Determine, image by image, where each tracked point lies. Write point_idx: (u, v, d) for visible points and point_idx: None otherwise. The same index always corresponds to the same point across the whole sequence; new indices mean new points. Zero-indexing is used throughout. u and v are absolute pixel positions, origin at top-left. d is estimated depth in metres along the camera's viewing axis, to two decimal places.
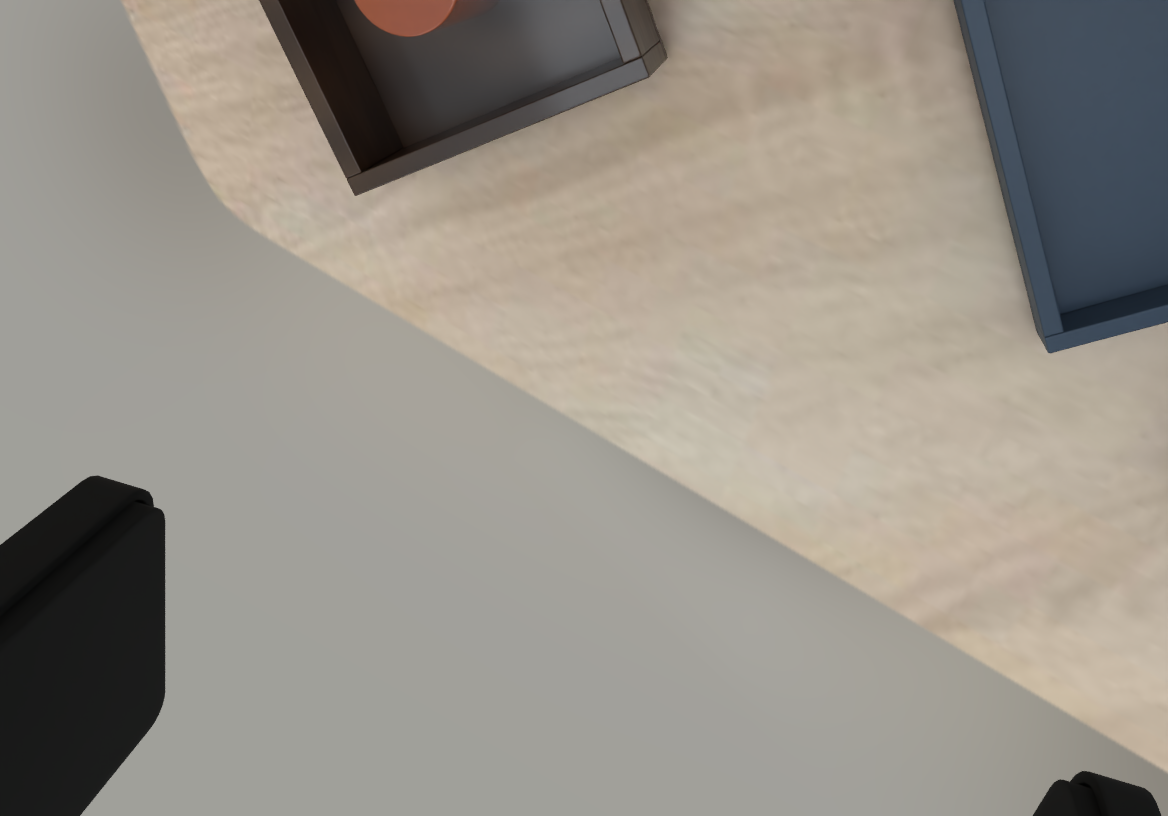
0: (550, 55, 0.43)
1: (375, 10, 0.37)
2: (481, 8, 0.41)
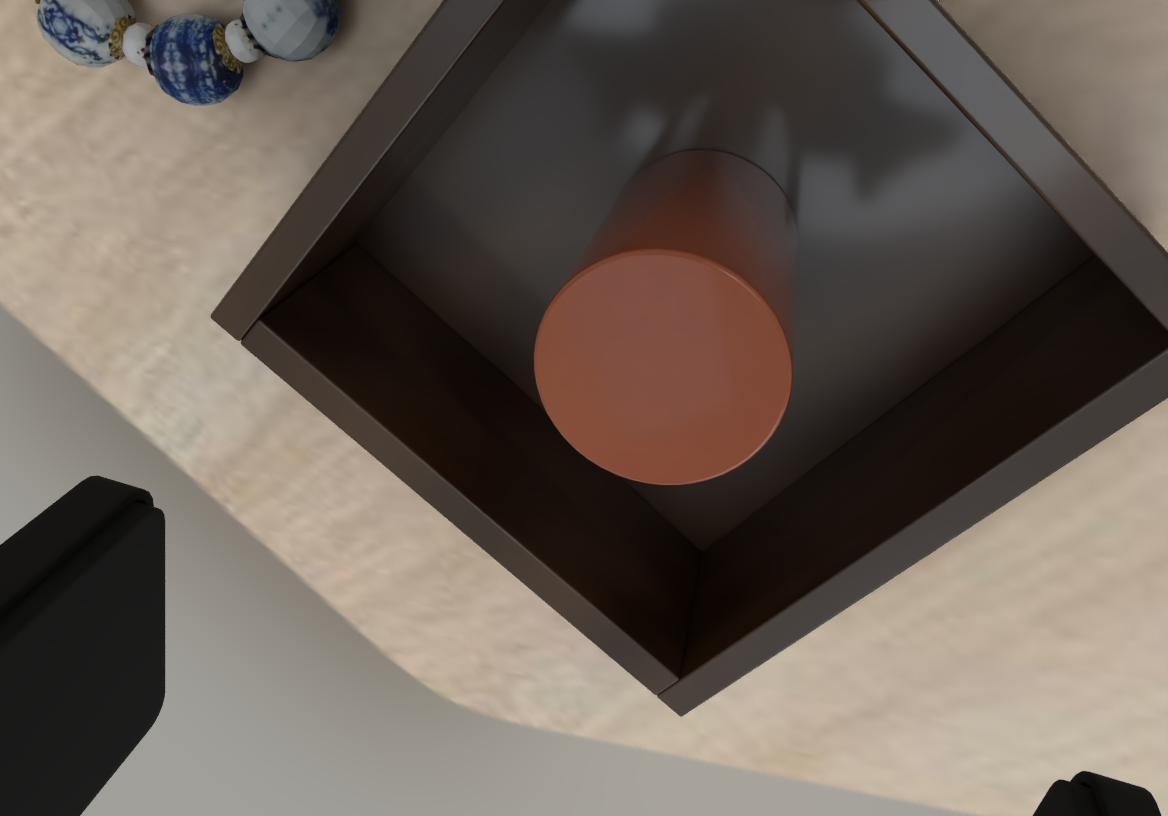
0: (918, 326, 0.23)
1: (629, 457, 0.18)
2: None
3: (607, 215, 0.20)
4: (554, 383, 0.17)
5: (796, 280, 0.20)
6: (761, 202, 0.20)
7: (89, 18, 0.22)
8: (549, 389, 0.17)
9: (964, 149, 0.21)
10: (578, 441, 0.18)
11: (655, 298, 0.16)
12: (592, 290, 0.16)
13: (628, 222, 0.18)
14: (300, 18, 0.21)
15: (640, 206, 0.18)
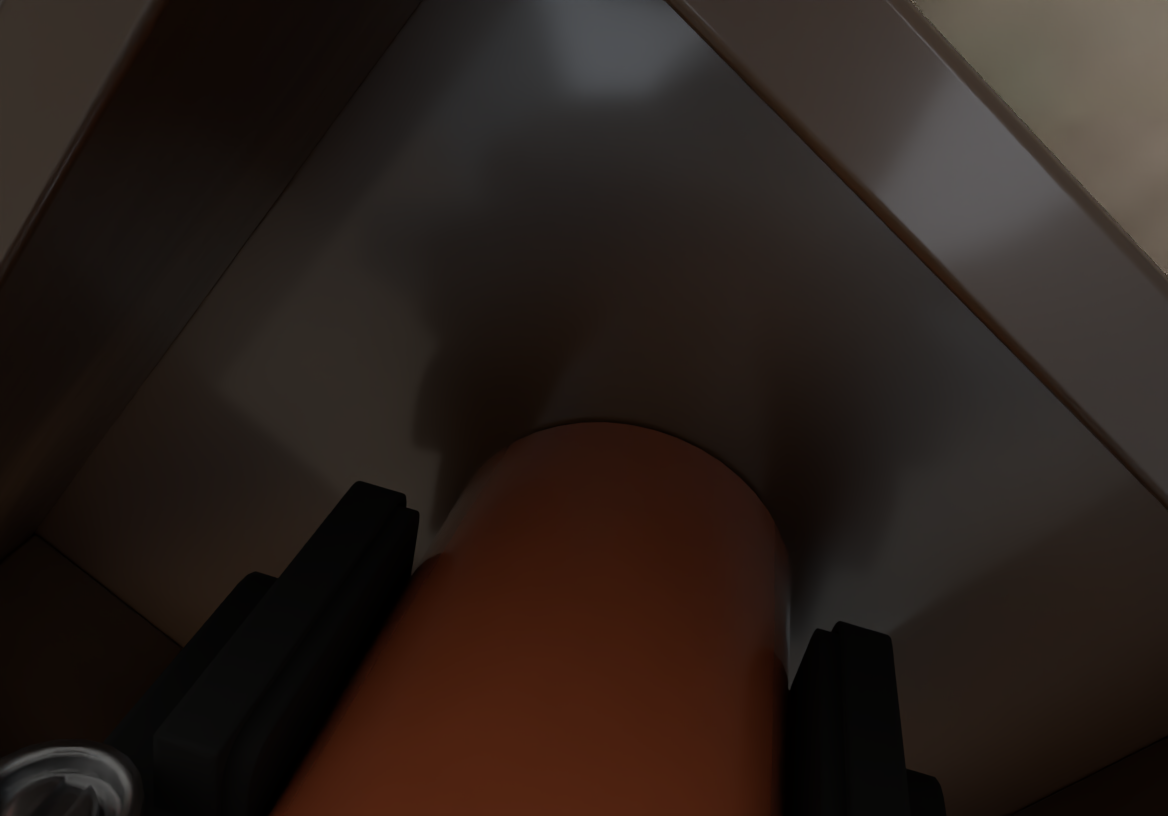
0: (1008, 725, 0.12)
1: None
2: None
3: (401, 599, 0.10)
4: None
5: (785, 750, 0.09)
6: (712, 584, 0.10)
7: None
8: None
9: None
10: None
11: None
12: None
13: (386, 734, 0.07)
14: None
15: (436, 650, 0.08)
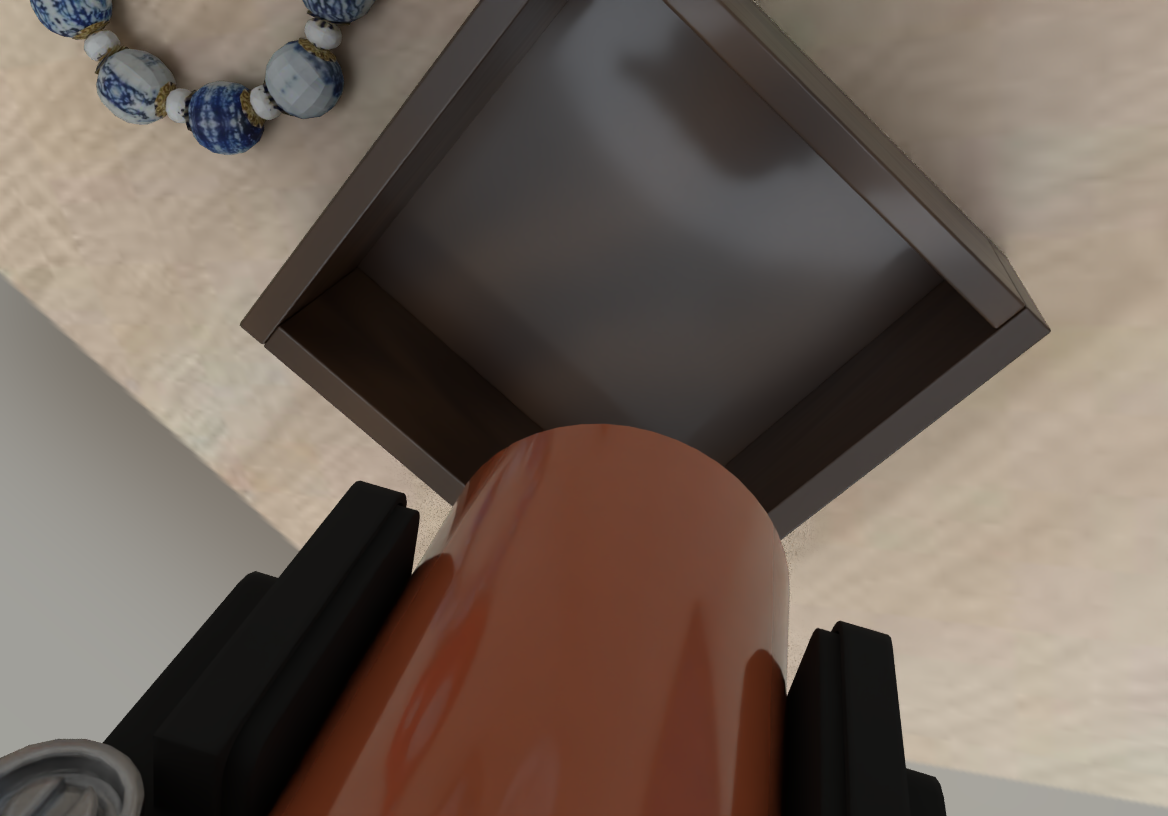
0: (821, 329, 0.28)
1: None
2: None
3: (400, 601, 0.10)
4: None
5: (783, 751, 0.10)
6: (710, 585, 0.10)
7: (140, 86, 0.27)
8: None
9: None
10: None
11: None
12: None
13: (384, 735, 0.08)
14: (312, 85, 0.26)
15: (434, 652, 0.08)
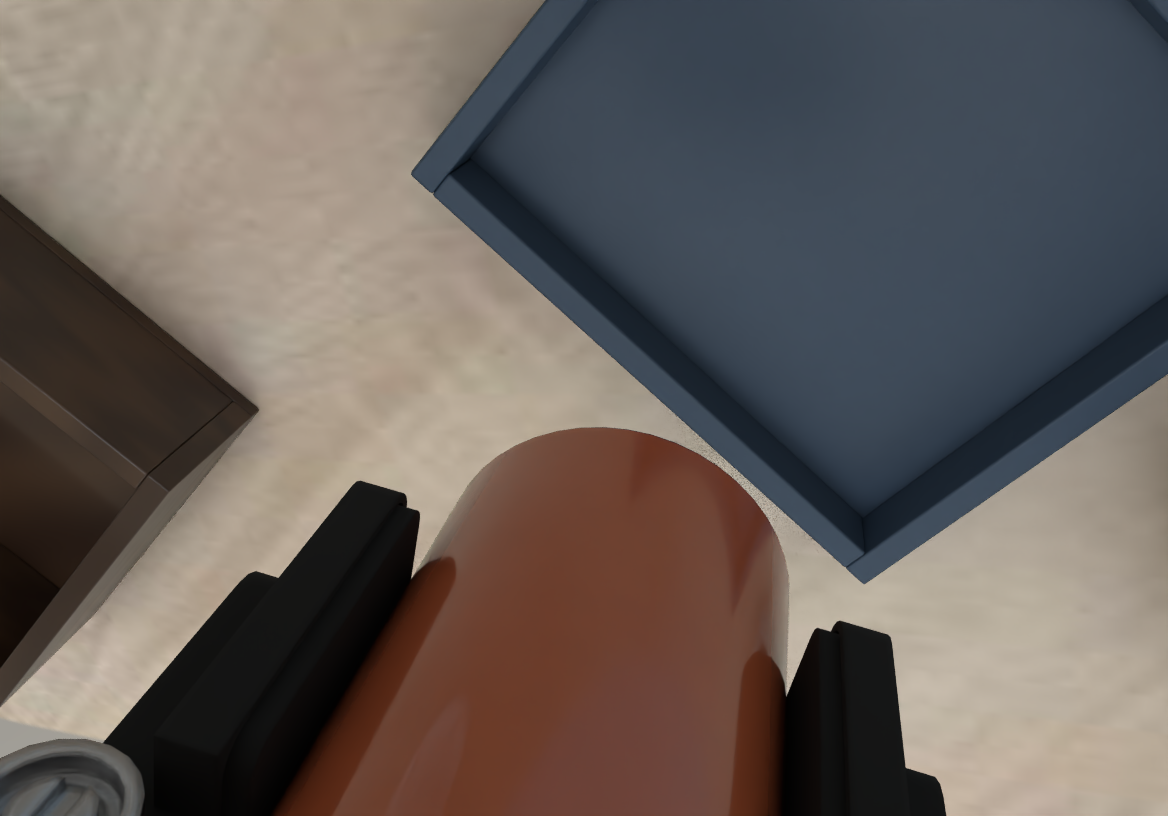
0: None
1: None
2: None
3: (400, 605, 0.10)
4: None
5: (782, 755, 0.10)
6: (710, 590, 0.10)
7: None
8: None
9: None
10: None
11: None
12: None
13: (384, 741, 0.08)
14: None
15: (434, 657, 0.08)
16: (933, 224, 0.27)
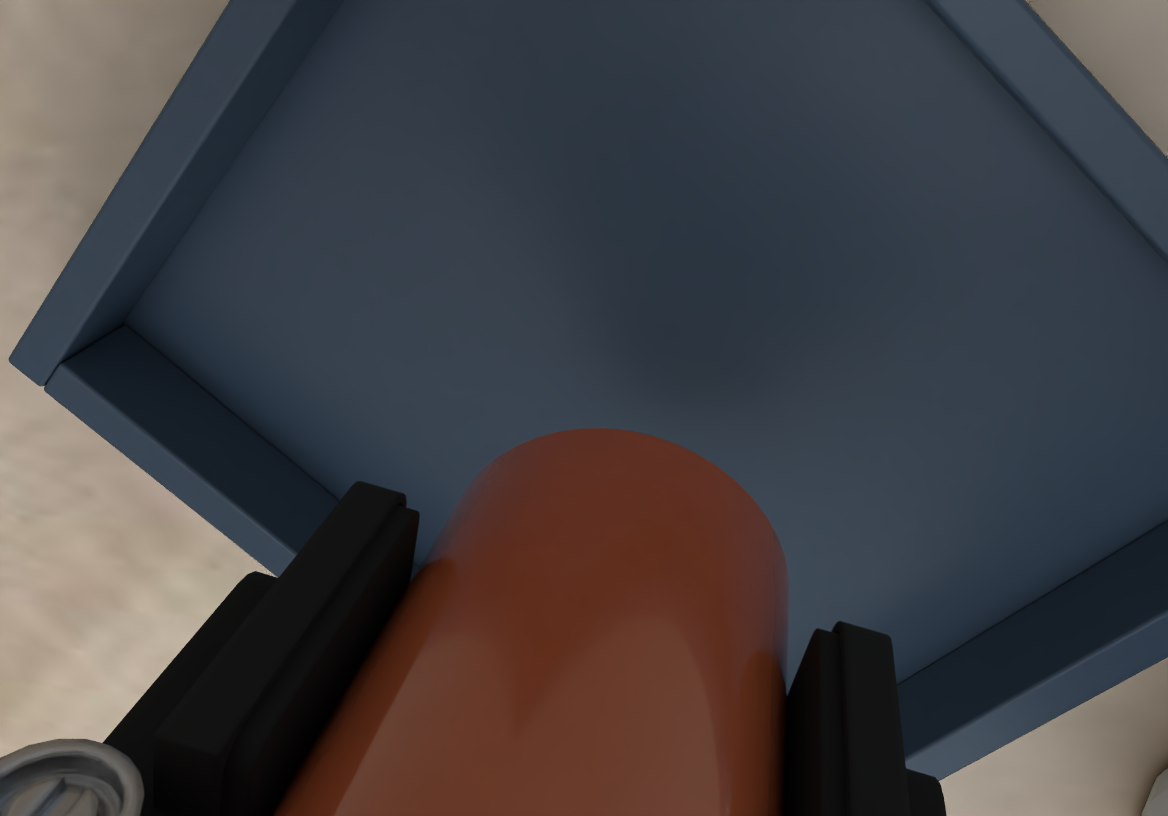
0: None
1: None
2: None
3: (400, 606, 0.10)
4: None
5: (783, 756, 0.10)
6: (710, 590, 0.10)
7: None
8: None
9: None
10: None
11: None
12: None
13: (384, 742, 0.08)
14: None
15: (434, 658, 0.08)
16: (775, 440, 0.18)
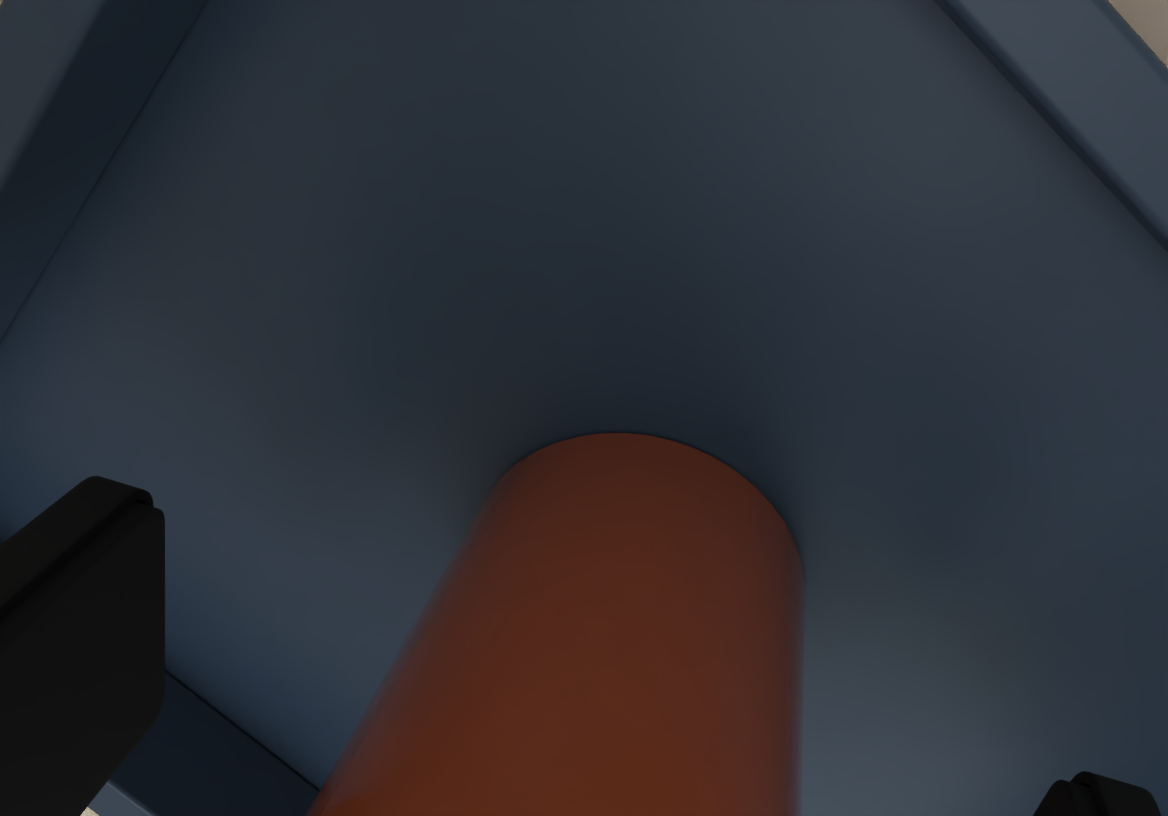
0: None
1: None
2: None
3: (430, 605, 0.10)
4: None
5: (801, 751, 0.10)
6: (731, 590, 0.10)
7: None
8: None
9: None
10: None
11: None
12: None
13: (423, 733, 0.08)
14: None
15: (468, 654, 0.09)
16: None
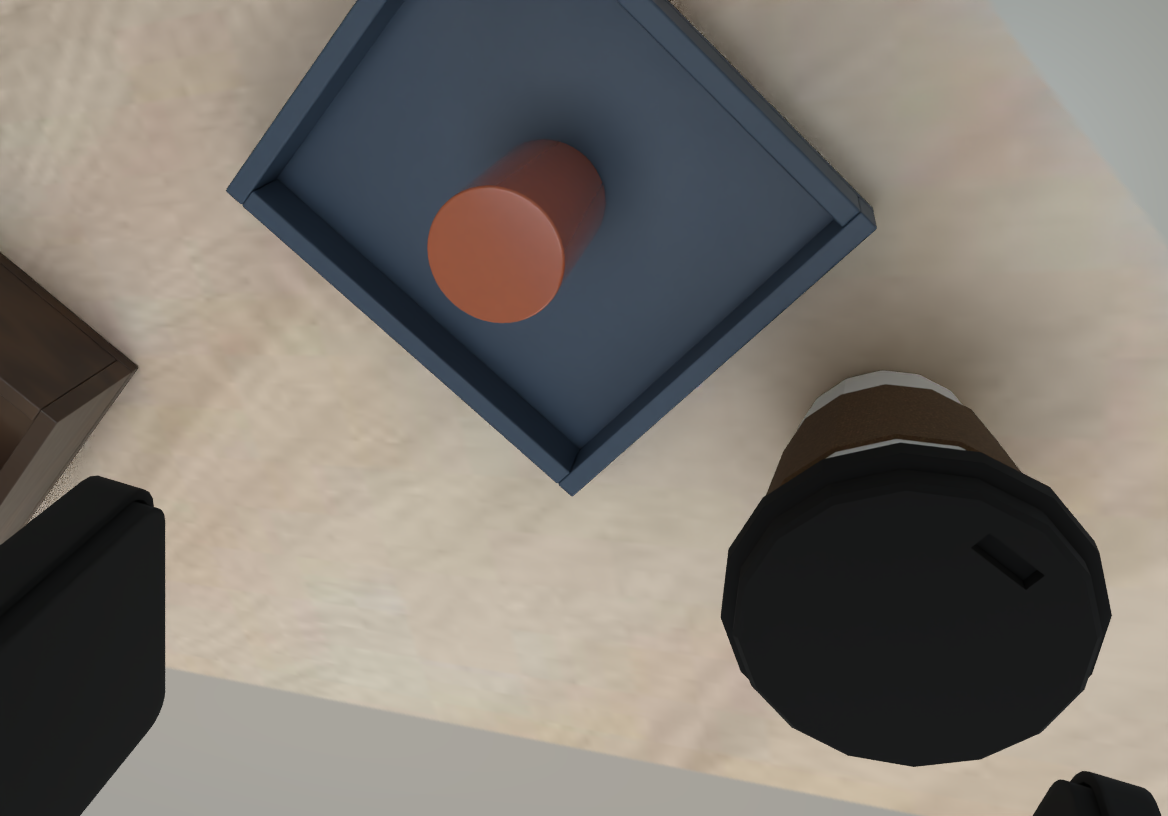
0: None
1: (482, 306, 0.31)
2: (589, 240, 0.35)
3: None
4: (439, 263, 0.31)
5: (589, 213, 0.34)
6: (569, 168, 0.34)
7: None
8: (436, 267, 0.31)
9: None
10: (453, 298, 0.32)
11: (489, 212, 0.30)
12: (456, 209, 0.30)
13: (482, 175, 0.32)
14: None
15: (492, 168, 0.32)
16: (600, 230, 0.37)
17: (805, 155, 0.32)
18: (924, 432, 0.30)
